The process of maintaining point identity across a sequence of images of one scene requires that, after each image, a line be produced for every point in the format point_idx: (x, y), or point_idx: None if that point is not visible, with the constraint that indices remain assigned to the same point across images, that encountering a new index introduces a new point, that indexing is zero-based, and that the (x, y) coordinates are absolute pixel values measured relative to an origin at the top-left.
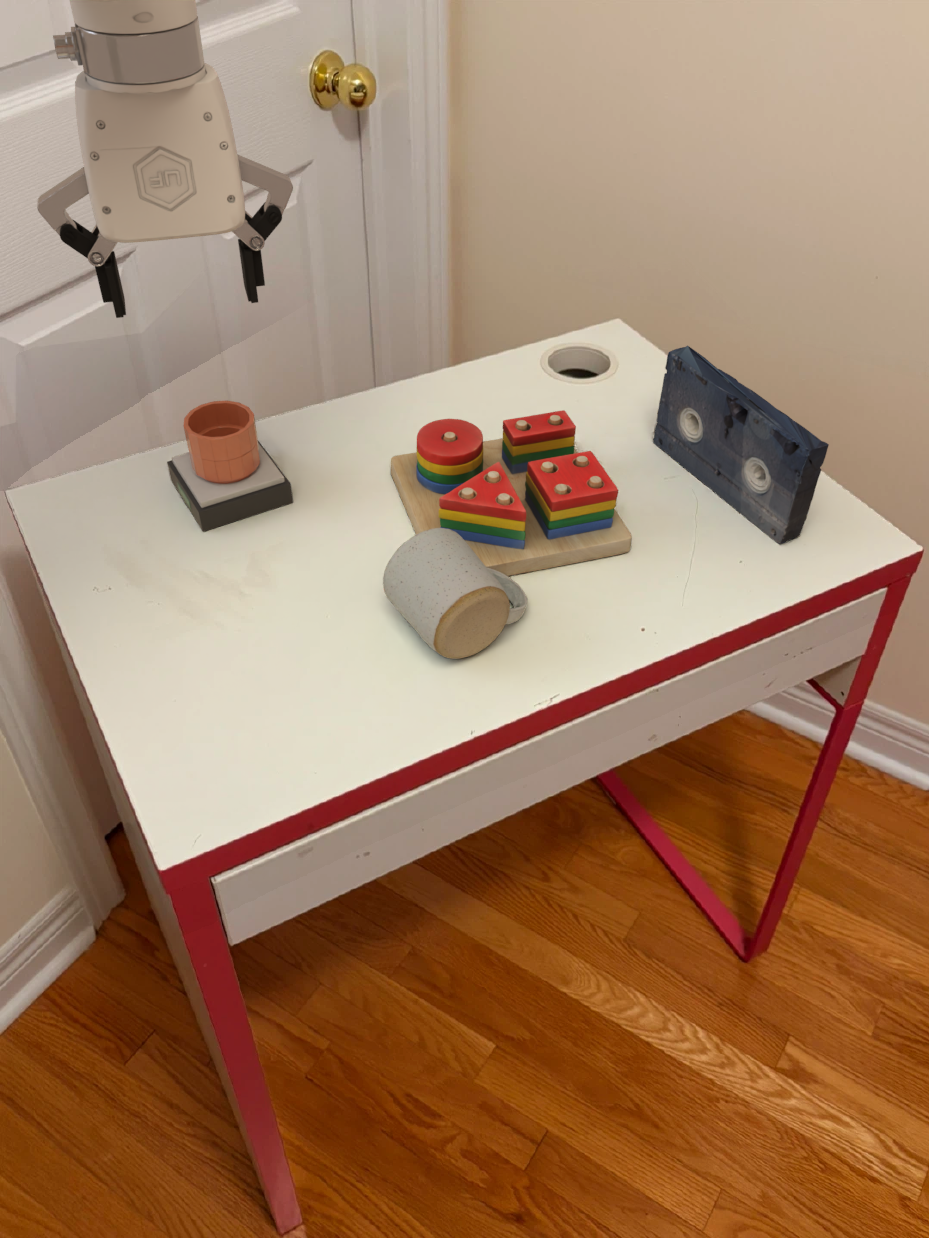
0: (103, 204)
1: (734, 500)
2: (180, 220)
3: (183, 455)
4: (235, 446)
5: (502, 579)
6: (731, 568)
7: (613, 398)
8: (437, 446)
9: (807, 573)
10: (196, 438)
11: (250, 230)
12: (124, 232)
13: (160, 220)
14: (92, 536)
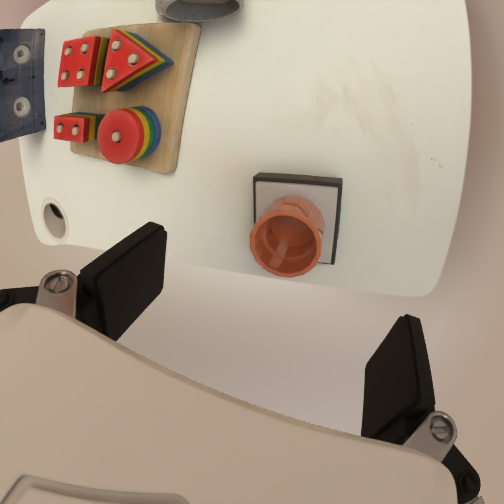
0: None
1: (40, 61)
2: (163, 440)
3: (320, 260)
4: (285, 206)
5: (161, 10)
6: (66, 15)
7: (48, 178)
8: (127, 128)
9: (49, 9)
10: (318, 231)
11: (43, 305)
12: (406, 478)
13: (252, 484)
14: (416, 227)
